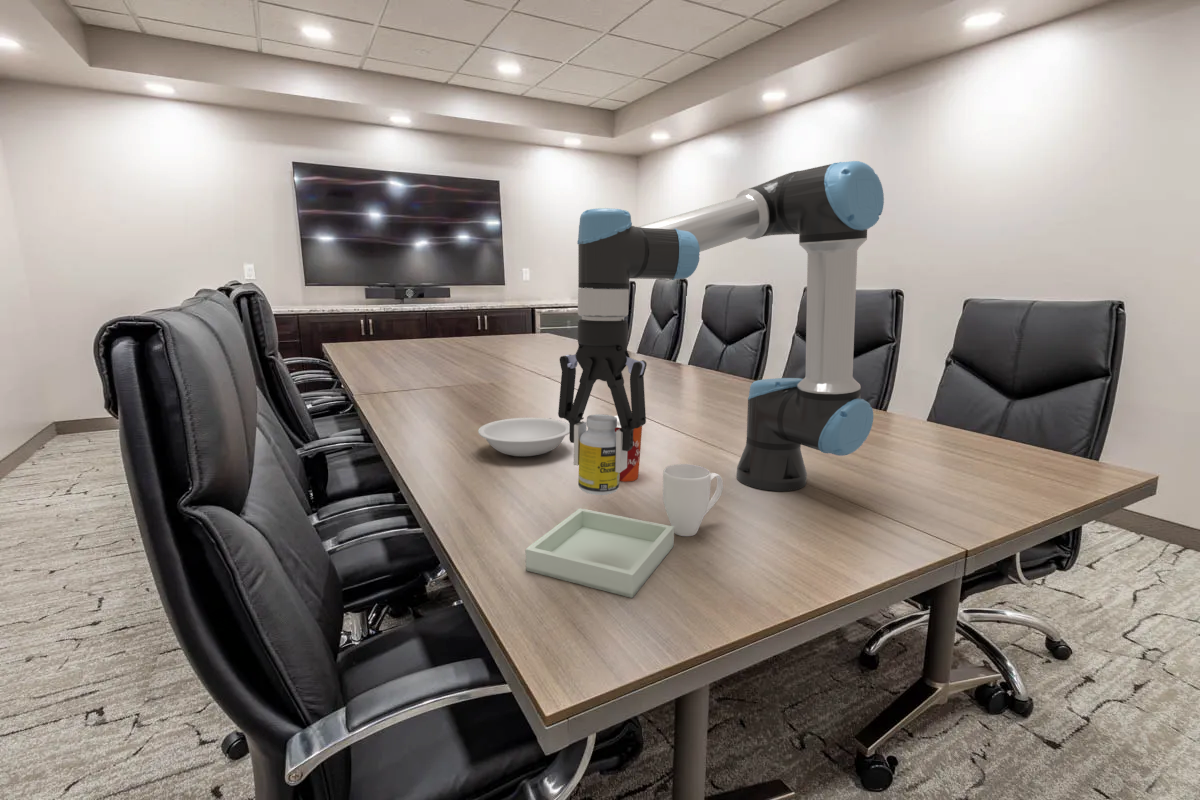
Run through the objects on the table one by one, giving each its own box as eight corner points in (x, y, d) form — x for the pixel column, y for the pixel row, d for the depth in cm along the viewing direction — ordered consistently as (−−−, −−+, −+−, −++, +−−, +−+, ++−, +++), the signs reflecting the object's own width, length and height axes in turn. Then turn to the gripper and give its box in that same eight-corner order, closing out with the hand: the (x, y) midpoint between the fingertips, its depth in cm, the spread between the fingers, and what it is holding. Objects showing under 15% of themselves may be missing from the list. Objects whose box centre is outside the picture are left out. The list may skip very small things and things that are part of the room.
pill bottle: (589, 499, 87) (592, 424, 84) (571, 484, 92) (573, 414, 90) (626, 493, 90) (630, 421, 87) (606, 479, 95) (610, 411, 93)
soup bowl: (589, 456, 147) (589, 431, 146) (503, 474, 134) (502, 446, 132) (544, 435, 166) (543, 413, 165) (465, 449, 153) (463, 425, 152)
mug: (679, 545, 98) (681, 482, 96) (652, 527, 105) (654, 467, 103) (734, 531, 103) (737, 471, 101) (705, 515, 111) (708, 458, 108)
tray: (673, 546, 98) (674, 526, 97) (632, 598, 82) (632, 575, 81) (580, 526, 106) (579, 508, 105) (525, 570, 90) (525, 549, 89)
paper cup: (640, 484, 127) (641, 423, 124) (606, 482, 128) (606, 421, 125) (644, 472, 134) (645, 414, 131) (612, 470, 136) (612, 413, 133)
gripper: (673, 319, 85) (667, 469, 89) (558, 314, 93) (558, 451, 98) (655, 322, 78) (649, 483, 83) (533, 316, 86) (534, 463, 91)
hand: (600, 466), depth 90 cm, fingers closed on pill bottle, 6 cm apart
